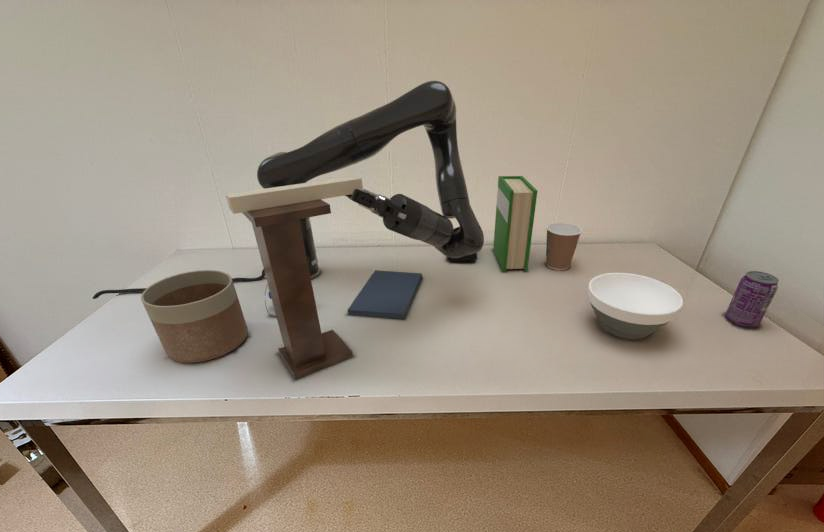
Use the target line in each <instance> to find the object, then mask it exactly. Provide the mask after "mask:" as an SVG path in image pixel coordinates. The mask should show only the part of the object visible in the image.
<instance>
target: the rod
mask: <svg viewBox="0 0 824 532" xmlns="http://www.w3.org/2000/svg"><path fill="white" fill-rule="evenodd" d="M354 189H359V190H361V191H363V189H364V185H363V178H362V177H359V176H357V175H353V176H346V177H339V178H331V179H325V180H317V181H310V182H309V181H308V182H307V183H302V184H295V185H288V186H280V187H273V188H266V189H264V188H260V189H259V188H258V189H252V190H245V191H238V192H230V193H225V198H226V201H227V204H228V208H229V210H230V212H231V213H232V214H234V215H235V214H241V213H242V212H248V211H254V210H260V209H266V208H272V207H278V206H284V205H290V204H296V203H302V202H308V201H314V200H320V199H321V200H325V199H332V198H338V197H343V196H344V195H350V194H353V191H354ZM344 197H345V196H344ZM242 214H243V213H242Z"/></svg>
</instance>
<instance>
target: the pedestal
mask: <svg viewBox="0 0 824 532" xmlns="http://www.w3.org/2000/svg"><path fill="white" fill-rule="evenodd" d="M242 214H243V216H244V217H245V218H246V219H248V221H249V222H250V223H251V225H252V229H253V232H254V238H255V241H256V245H257V248H258V249H257V250H258V252H259V256H260V260H261V265H262V268H263V269H264V272H265V279H266V283H267V285H268V286H267V288H268V292H269V291H270V294H271V298H272V299H271V301H272V302H271V303H272V306H273V310H274V314H275V316H276V317H275V318H276V321H277V324H278V328H279V333H280V336H281V341H282V343H283V346H282V347H279V348H278V349H277V350H278V353H279V356H280V357H281V359H282V360H283V362H284V363H285V365H286V367H287V369H288V370H289V372H290V373H291V375H292V376H293V378H294V380H295V381H296V380H299V379H301V378H303V377H306V376H308V375H311V374H313V373H316V372H318V371H321V370H323V369H326V368H329V367H331V366H333V365H336V364H338V363H340V362H343V361H346V360H349V359H352V358H353V356H354V355H353V351H352V349H351V348H350V347H349V346H348V345H347V344H346V343H345V341H344V340H343V339H342V338H341V337H340V336H339V335H338V334H337V332H336V331H334V329H330V330H326V331H324V332H322V329H321V328H322V327H321V324H320V323H321V322H320V318H319V314H318V308H317V304H316V299H315V294H314V287H313V283H312V279H311V277H310V272H309V267H308V262H307V257H306V252H305V247H304V242H303V237H302V232H301V227H300V221H299V219H303V218H309V217H310V218H313V217H314V218H315V217H319V216H324V215H329V214H330V215H331V214H332V209H331V204H329V203H328V202H326V201H324V199H320V200H314V201H308V202H302V203H296V204H290V205H284V206H278V207H272V208H266V209H260V210H254V211H248V212H242Z"/></svg>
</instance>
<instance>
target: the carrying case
mask: <svg viewBox="0 0 824 532" xmlns="http://www.w3.org/2000/svg"><path fill="white" fill-rule="evenodd" d="M445 257H446V259H447V260H448V261H449V262H452V263H453V262H456V263H457V262H458V263H473V262H475V260H477V259H478V252H477V253H474V254H470V255H466V256H463V257H459V258H450V257H447V256H445Z"/></svg>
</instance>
